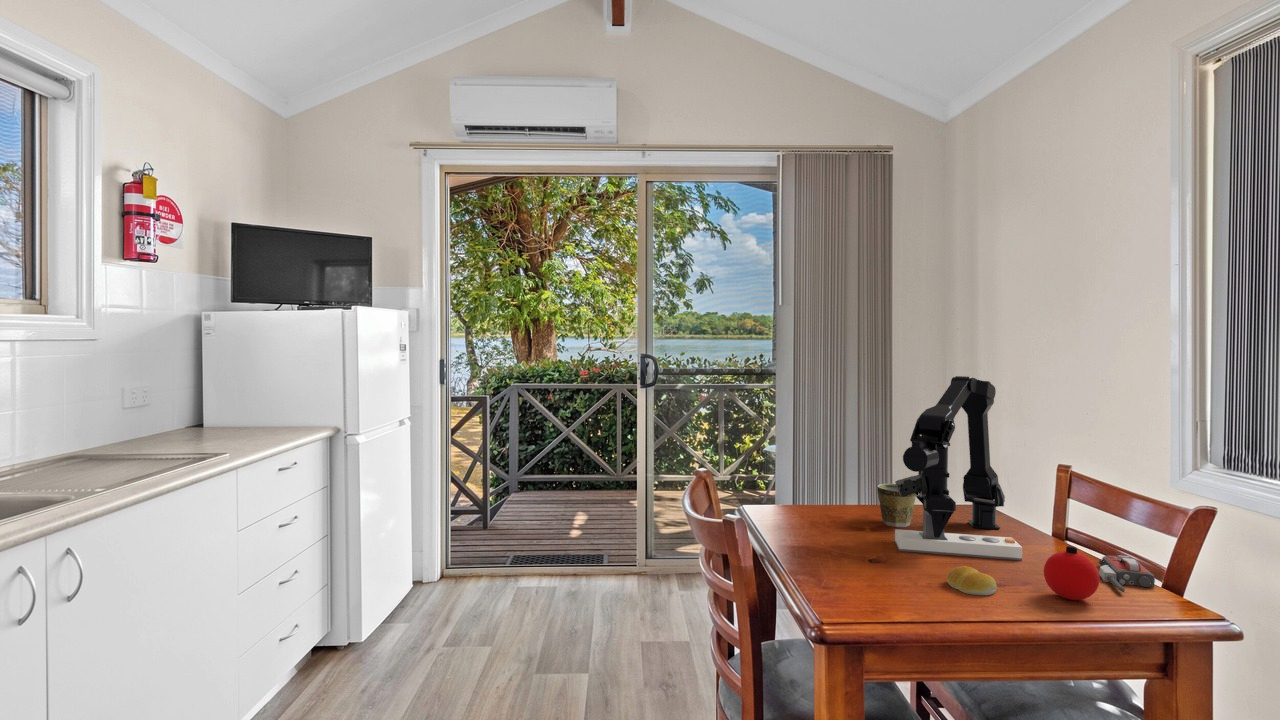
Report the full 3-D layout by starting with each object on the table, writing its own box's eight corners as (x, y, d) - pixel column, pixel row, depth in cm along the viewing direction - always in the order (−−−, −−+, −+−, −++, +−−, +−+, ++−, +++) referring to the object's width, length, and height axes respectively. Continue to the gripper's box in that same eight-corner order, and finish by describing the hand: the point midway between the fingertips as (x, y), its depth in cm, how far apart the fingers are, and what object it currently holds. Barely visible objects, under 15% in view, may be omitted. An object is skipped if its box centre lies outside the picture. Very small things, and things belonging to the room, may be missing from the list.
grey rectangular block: (922, 543, 162) (923, 510, 162) (940, 545, 161) (941, 511, 161) (925, 548, 158) (926, 514, 158) (943, 549, 157) (944, 515, 157)
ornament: (1108, 609, 123) (1109, 555, 123) (1055, 605, 125) (1056, 552, 124) (1085, 591, 132) (1086, 541, 132) (1035, 588, 134) (1036, 538, 133)
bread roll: (975, 599, 128) (975, 578, 128) (939, 583, 136) (939, 564, 136) (1007, 594, 131) (1008, 573, 131) (970, 579, 139) (970, 560, 139)
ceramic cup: (922, 529, 177) (922, 491, 176) (884, 528, 177) (884, 491, 177) (903, 516, 190) (904, 481, 189) (868, 516, 190) (868, 481, 190)
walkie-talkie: (1088, 565, 149) (1115, 596, 131) (1088, 546, 149) (1115, 574, 130) (1135, 570, 146) (1170, 603, 127) (1135, 550, 146) (1171, 579, 127)
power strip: (895, 541, 165) (895, 526, 165) (1011, 550, 159) (1012, 535, 159) (899, 550, 157) (899, 535, 157) (1022, 560, 151) (1022, 544, 151)
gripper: (893, 458, 170) (892, 519, 170) (903, 471, 152) (902, 540, 152) (941, 460, 167) (939, 523, 168) (956, 474, 149) (955, 544, 150)
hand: (933, 532), depth 159 cm, fingers open, 9 cm apart
